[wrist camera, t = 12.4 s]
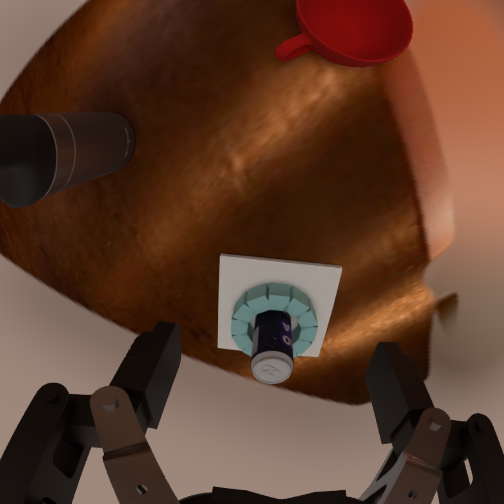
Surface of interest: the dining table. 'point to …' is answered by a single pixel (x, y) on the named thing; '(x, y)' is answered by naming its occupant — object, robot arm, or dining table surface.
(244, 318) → the ring
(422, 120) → the dining table surface
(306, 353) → the mat
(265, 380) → the beverage can
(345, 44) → the ceramic cup
